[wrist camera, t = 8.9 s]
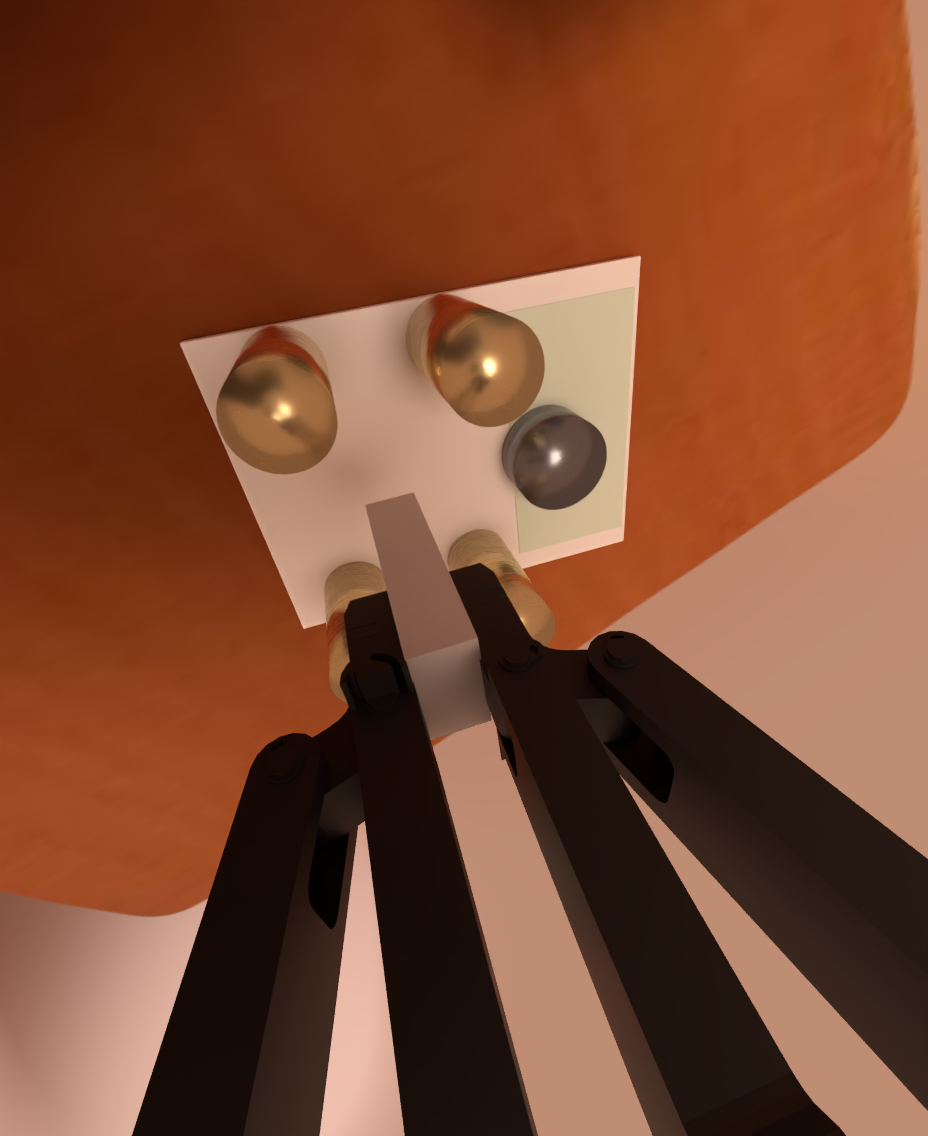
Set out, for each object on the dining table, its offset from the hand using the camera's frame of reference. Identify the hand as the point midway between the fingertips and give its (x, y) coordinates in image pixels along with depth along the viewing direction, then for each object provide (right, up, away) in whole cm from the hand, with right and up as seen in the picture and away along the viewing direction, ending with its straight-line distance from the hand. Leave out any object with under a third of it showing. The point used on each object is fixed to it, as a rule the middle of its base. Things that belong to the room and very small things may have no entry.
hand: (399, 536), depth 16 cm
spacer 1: (-4, +6, +2) cm, 8 cm away
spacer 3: (+1, +8, +3) cm, 8 cm away
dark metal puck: (+6, +4, +7) cm, 10 cm away
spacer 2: (-3, -2, +8) cm, 9 cm away
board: (+1, +4, +6) cm, 8 cm away
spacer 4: (+3, 0, +9) cm, 9 cm away
